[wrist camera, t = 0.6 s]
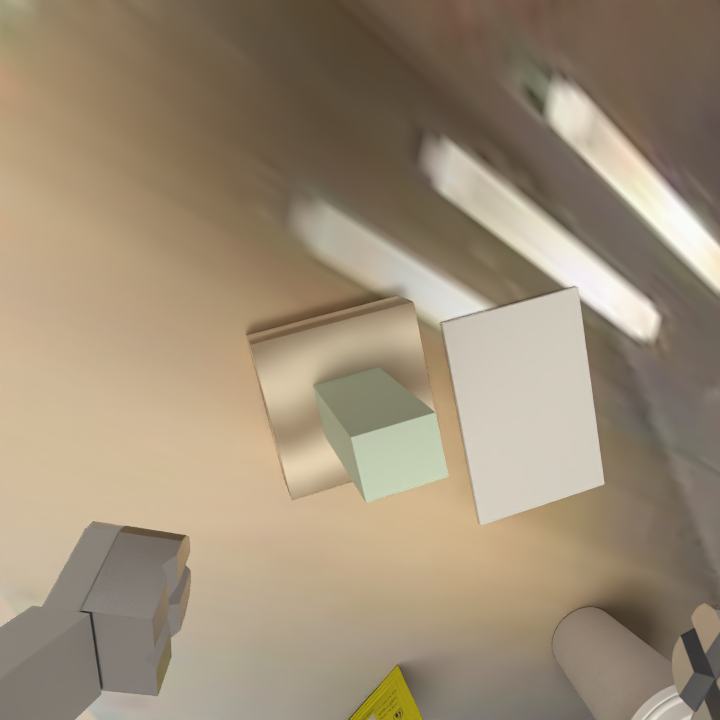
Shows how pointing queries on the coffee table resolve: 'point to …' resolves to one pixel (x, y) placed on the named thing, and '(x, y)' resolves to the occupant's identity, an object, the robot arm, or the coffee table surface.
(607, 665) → the coffee cup
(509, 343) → the rubber mat
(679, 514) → the coffee table surface
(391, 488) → the sage green pillar
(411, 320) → the plate
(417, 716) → the food package
